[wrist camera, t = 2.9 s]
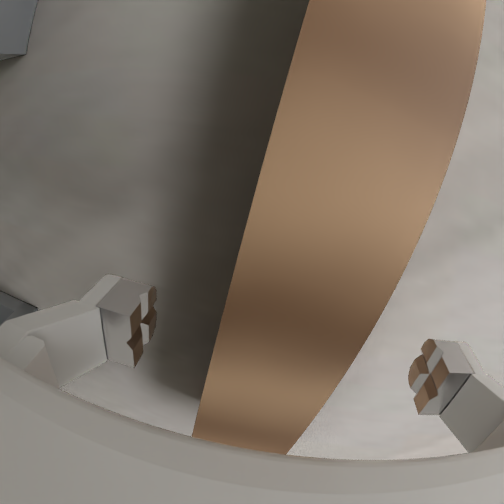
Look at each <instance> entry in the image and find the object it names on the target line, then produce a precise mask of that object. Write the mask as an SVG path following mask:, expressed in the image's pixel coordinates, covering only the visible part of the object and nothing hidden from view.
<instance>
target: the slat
mask: <svg viewBox="0 0 504 504" xmlns="http://www.w3.org/2000/svg"><path fill="white" fill-rule="evenodd" d="M485 7H486V0H309V3H308V7H307V10H306V13H305V17H304V20H303V24H302V27H301V30H300V34H299V37H298V41H297V44H296V48H295V51H294V55H293V58H292V62H291V65H290V69H289V72H288V76H287V79H286V83H285V86H284V90H283V93H282V97H281V100H280V104H279V107H278V111H277V114H276V118H275V122H274V125H273V129H272V132H271V136H270V140H269V143H268V147H267V150H266V154H265V158H264V161H263V165H262V169H261V172H260V176H259V180H258V183H257V187H256V191H255V194H254V198H253V202H252V205H251V209H250V213H249V216H248V220H247V224H246V228H245V231H244V235H243V239H242V242H241V246H240V250H239V254H238V258H237V261H236V265H235V269H234V273H233V276H232V280H231V284H230V288H229V292H228V296H227V299H226V303H225V307H224V311H223V315H222V319H221V322H220V326H219V330H218V334H217V338H216V342H215V346H214V350H213V354H212V358H211V361H210V365H209V369H208V373H207V377H206V381H205V385H204V389H203V393H202V397H201V401H200V405H199V409H198V413H197V417H196V421H195V425H194V429H193V433H192V437H195V438H199V439H203V440H207V441H212V442H216V443H221V444H225V445H230V446H235V447H240V448H246V449H252V450H258V451H264V452H270V453H278V454H285V455H286V454H287V452H288V451H289V450H290V449H291V448H292V446H293V445H294V444H295V443H296V441H297V440H298V439H299V437H300V436H301V435H302V434H303V432H304V431H305V430H306V428H307V427H308V426H309V424H310V423H311V422H312V420H313V419H314V418H315V416H316V415H317V414H318V412H319V411H320V409H321V408H322V407H323V405H324V404H325V403H326V401H327V400H328V398H329V397H330V395H331V394H332V392H333V391H334V390H335V388H336V387H337V385H338V384H339V382H340V381H341V379H342V378H343V376H344V375H345V373H346V372H347V370H348V369H349V367H350V365H351V364H352V362H353V361H354V359H355V358H356V356H357V354H358V353H359V351H360V350H361V348H362V346H363V345H364V343H365V341H366V340H367V338H368V336H369V335H370V333H371V331H372V329H373V328H374V326H375V324H376V323H377V321H378V319H379V317H380V315H381V314H382V312H383V310H384V308H385V306H386V305H387V303H388V301H389V299H390V297H391V295H392V293H393V292H394V290H395V288H396V286H397V284H398V282H399V280H400V278H401V276H402V274H403V272H404V270H405V268H406V266H407V264H408V262H409V260H410V258H411V255H412V253H413V251H414V249H415V247H416V245H417V243H418V240H419V238H420V236H421V234H422V231H423V229H424V227H425V225H426V222H427V220H428V217H429V215H430V213H431V210H432V208H433V205H434V203H435V200H436V198H437V195H438V193H439V190H440V188H441V185H442V182H443V179H444V177H445V174H446V171H447V168H448V166H449V163H450V160H451V157H452V154H453V151H454V148H455V145H456V142H457V138H458V135H459V132H460V128H461V125H462V122H463V118H464V115H465V111H466V107H467V103H468V100H469V96H470V92H471V87H472V83H473V79H474V74H475V70H476V65H477V60H478V54H479V49H480V43H481V37H482V30H483V23H484V16H485Z"/></svg>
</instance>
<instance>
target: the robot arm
mask: <svg viewBox="0 0 504 504" xmlns="http://www.w3.org/2000/svg"><path fill="white" fill-rule="evenodd" d="M156 300H157V290H156V288H155V286H152V285H148V284H145V283H141V282H137V281H134V280H130V279H127V278H123V277H120V276H116V275H112V274H106V275H105V276H104V277H103V278H102V279H101V280H100V281H98V282H97V283H96V284H95V285H94V286H93V287H92V288H91V289H90V290H89V291H88V292H87V293H86V294H85V295H84V296H83V297H82V298H81V299H80V301H77V300H72V301H69V302H66V303H62V304H59V305H56V306H52V307H49V308H46V309H43V310H39V311H36V312H33V313H30V314H26V315H23V316H20V317H17V318H13V319H10V320H7V321H5V322H4V323H3V324H2V325H1V326H0V504H504V386H503V385H501V384H500V383H499V382H498V381H496V380H495V379H494V378H493V377H491V376H490V375H486V374H485V372H484V370H483V368H482V366H481V365H480V363H479V361H478V359H477V357H476V356H475V354H474V352H473V350H472V349H471V347H470V345H469V344H468V343H466V342H460V341H445V340H435V339H428V340H427V341H426V342H425V343H424V344H423V346H422V348H421V353H422V355H420V356H419V357H418V358H416V359H415V360H414V362H413V363H412V365H411V367H410V371H409V375H408V380H409V385H410V388H411V389H412V390H413V391H414V392H415V393H416V395H415V397H414V401H415V405H416V408H417V411H418V415H440V416H439V417H440V418H441V419H442V420H443V421H444V423H445V424H446V425H447V426H448V428H449V429H450V430H451V431H452V433H453V434H454V435H455V436H456V438H457V439H458V440H459V441H460V443H461V444H462V445H463V446H464V448H465V449H466V450H467V451H468V453H464V454H457V455H449V456H440V457H430V458H418V459H399V460H346V459H327V458H314V457H303V456H294V455H285V454H278V453H270V452H264V451H258V450H252V449H246V448H240V447H235V446H230V445H225V444H221V443H216V442H212V441H207V440H203V439H199V438H195V437H191V436H187V435H183V434H180V433H176V432H172V431H169V430H166V429H162V428H159V427H156V426H152V425H149V424H146V423H143V422H140V421H137V420H134V419H131V418H129V417H126V416H123V415H120V414H117V413H115V412H112V411H110V410H107V409H104V408H102V407H99V406H97V405H94V404H92V403H90V402H87V401H85V400H83V399H80V398H78V397H76V396H74V395H71V394H69V393H67V392H65V391H63V390H61V389H60V387H62V386H64V385H66V384H68V383H69V382H71V381H73V380H75V379H76V378H78V377H80V376H82V375H84V374H85V373H87V372H89V371H91V370H92V369H94V368H96V367H98V366H99V365H101V364H103V363H105V362H106V361H107V360H110V361H114V362H117V363H120V364H123V365H126V366H130V367H133V368H135V366H136V364H137V362H138V361H139V359H140V357H141V355H142V354H143V345H144V344H146V343H149V341H150V340H151V338H152V336H153V333H154V330H155V327H156V320H157V312H156V310H155V309H154V307H153V304H154V303H155V301H156Z"/></svg>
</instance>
